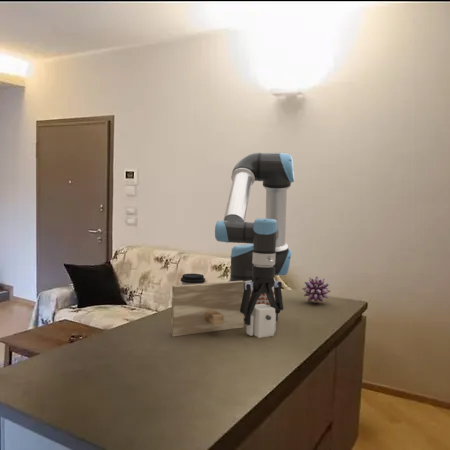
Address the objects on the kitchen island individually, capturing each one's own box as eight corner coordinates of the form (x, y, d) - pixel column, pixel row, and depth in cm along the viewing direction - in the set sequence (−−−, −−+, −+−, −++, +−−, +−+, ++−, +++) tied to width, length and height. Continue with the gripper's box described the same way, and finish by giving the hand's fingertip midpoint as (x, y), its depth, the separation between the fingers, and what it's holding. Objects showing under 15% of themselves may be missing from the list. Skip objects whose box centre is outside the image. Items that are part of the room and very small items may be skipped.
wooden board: (171, 334, 148) (172, 285, 146) (240, 325, 160) (242, 280, 159) (180, 342, 141) (182, 291, 139) (252, 332, 153) (254, 285, 152)
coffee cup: (201, 319, 167) (202, 278, 165) (176, 317, 168) (177, 276, 167) (206, 312, 176) (207, 274, 175) (182, 310, 177) (183, 272, 176)
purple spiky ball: (324, 300, 203) (326, 273, 202) (333, 307, 191) (334, 279, 190) (299, 299, 202) (300, 273, 201) (305, 306, 190) (307, 278, 189)
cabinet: (247, 331, 154) (248, 305, 153) (262, 329, 157) (263, 303, 156) (260, 338, 147) (261, 311, 146) (276, 336, 150) (277, 309, 149)
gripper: (242, 268, 142) (239, 340, 144) (296, 265, 152) (293, 332, 154) (230, 265, 149) (227, 333, 150) (283, 262, 159) (280, 326, 160)
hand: (260, 332), depth 152 cm, fingers open, 8 cm apart
